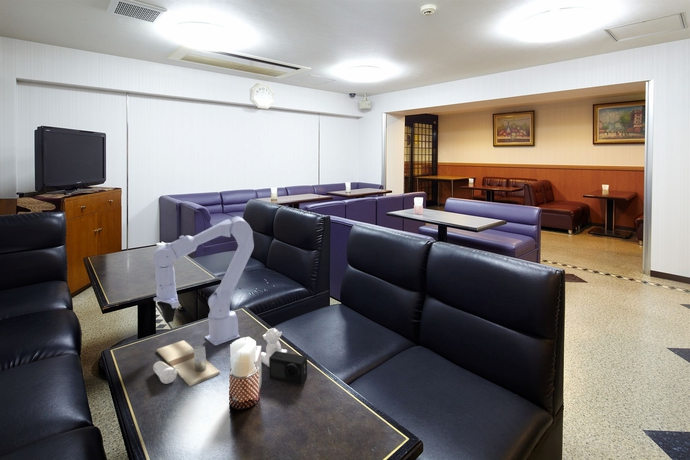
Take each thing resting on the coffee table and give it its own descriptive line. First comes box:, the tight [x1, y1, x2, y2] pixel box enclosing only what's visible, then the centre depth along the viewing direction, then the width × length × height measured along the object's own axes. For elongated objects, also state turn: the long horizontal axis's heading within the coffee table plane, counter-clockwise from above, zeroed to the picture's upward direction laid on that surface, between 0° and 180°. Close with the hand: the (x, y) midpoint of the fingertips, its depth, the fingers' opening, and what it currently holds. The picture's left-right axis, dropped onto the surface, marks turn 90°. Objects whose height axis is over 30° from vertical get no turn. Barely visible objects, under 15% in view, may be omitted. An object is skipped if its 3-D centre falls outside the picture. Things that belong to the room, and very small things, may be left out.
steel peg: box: [193, 344, 207, 372], centre depth 114 cm, size 3×3×7 cm
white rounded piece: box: [152, 360, 179, 385], centre depth 111 cm, size 4×5×10 cm
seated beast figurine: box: [261, 327, 288, 368], centre depth 119 cm, size 10×9×12 cm
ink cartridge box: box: [244, 336, 263, 401], centre depth 104 cm, size 9×5×15 cm, turn 5°
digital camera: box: [268, 351, 308, 386], centre depth 111 cm, size 10×5×7 cm, turn 73°
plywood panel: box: [156, 340, 220, 387], centre depth 119 cm, size 9×26×1 cm, turn 45°
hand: (169, 321), depth 126 cm, fingers closed
